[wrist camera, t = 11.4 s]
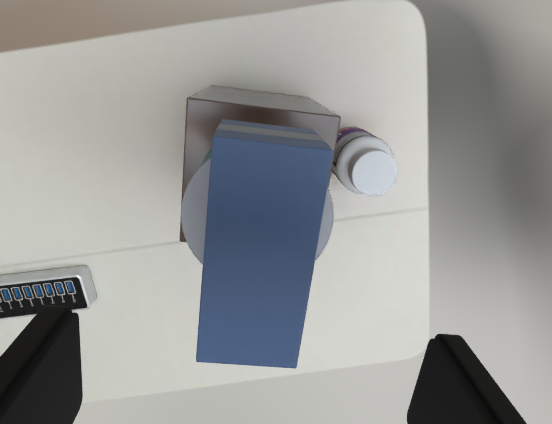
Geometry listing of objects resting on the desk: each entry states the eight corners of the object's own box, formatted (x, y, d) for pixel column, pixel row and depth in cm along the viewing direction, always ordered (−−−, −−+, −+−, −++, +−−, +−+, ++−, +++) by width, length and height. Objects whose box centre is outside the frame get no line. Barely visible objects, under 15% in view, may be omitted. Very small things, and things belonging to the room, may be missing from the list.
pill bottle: (379, 167, 45) (411, 194, 36) (331, 182, 45) (351, 212, 36) (368, 119, 43) (399, 134, 34) (318, 134, 43) (336, 153, 34)
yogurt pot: (202, 116, 26) (184, 134, 20) (322, 130, 27) (345, 152, 20) (195, 229, 29) (177, 280, 22) (305, 240, 30) (320, 291, 23)
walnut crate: (211, 85, 41) (186, 97, 26) (309, 97, 42) (341, 116, 27) (204, 181, 44) (179, 241, 29) (296, 191, 45) (317, 254, 30)
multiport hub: (97, 298, 48) (90, 309, 46) (-26, 313, 48) (-39, 324, 46) (87, 264, 47) (79, 274, 45) (-40, 279, 47) (-54, 290, 45)
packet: (221, 118, 20) (211, 135, 15) (315, 129, 20) (334, 149, 15) (207, 301, 23) (195, 362, 18) (288, 307, 23) (296, 369, 19)
